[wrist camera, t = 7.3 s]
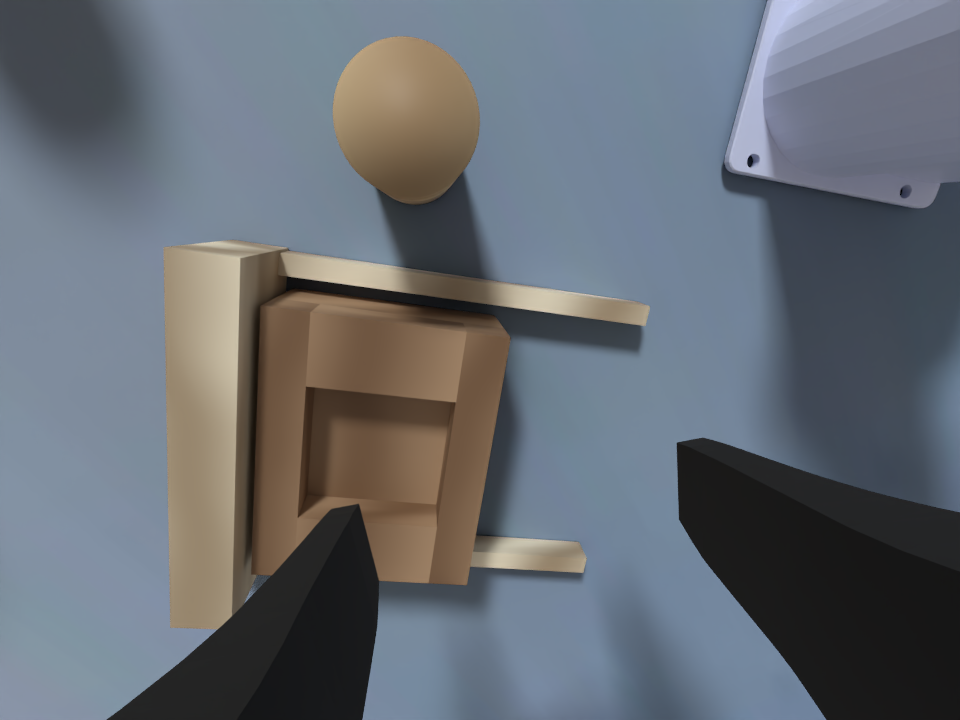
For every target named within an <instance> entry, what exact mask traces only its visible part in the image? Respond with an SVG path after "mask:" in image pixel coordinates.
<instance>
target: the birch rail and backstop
mask: <svg viewBox="0 0 960 720" xmlns="http://www.w3.org/2000/svg"><path fill="white" fill-rule="evenodd" d="M287 276H288V277H296V278H303V279H310V280H317V281H324V282H332V283H339V284H346V285H353V286H360V287H368V288H375V289H382V290H389V291H397V292H404V293H411V294H418V295H425V296H433V297H440V298H447V299H454V300H461V301H469V302H476V303H483V304H490V305H498V306H505V307H512V308H519V309H526V310H534V311H541V312H548V313H555V314H562V315H570V316H577V317H584V318H591V319H598V320H606V321H613V322H620V323H627V324H635V325H642V326H645V325H646V321H647V317H648V313H649V310H650V306H647V305H645V304H642V303H639V302H636V301H629V300H622V299H615V298H608V297H601V296H595V295H588V294H581V293H574V292H567V291H560V290H554V289H547V288H540V287H533V286H526V285H519V284H513V283H506V282H499V281H492V280H485V279H478V278H472V277H465V276H458V275H451V274H444V273H437V272H431V271H424V270H417V269H410V268H403V267H396V266H390V265H383V264H376V263H369V262H362V261H355V260H349V259H342V258H335V257H328V256H321V255H314V254H308V253H301V252H294V251H288V248H285V247H278V246H271V245H265V244H258V243H251V242H244V241H237V240H227V241H217V242H208V243H199V244H189V245H180V246H171V247H164V292H165V348H166V404H167V460H168V516H169V572H170V628H197V629H219V628H220V627H221V626H222V625H223V624H224V623H225V622H226V621H227V620H228V619H229V618H230V617H232V616H233V615H234V614H235V613H236V612H237V611H238V610H239V609H240V608H241V607H242V606H243V604H244V602H245V600H246V598H247V596H248V594H249V591H250V589H251V587H252V585H253V583H254V581H255V579H256V577H257V575H251V562H252V533H253V505H254V477H255V449H256V420H257V392H258V364H259V336H260V307H261V305H263V304H265V303H267V302H269V301H270V300H272V299H274V298H276V297H278V296H280V295H282V294H284V293H286V285H287ZM586 559H587V558H586V556H585V554H584V552H583V550H582V548H581V546H580V543H579V542H571V541H555V540H540V539H525V538H509V537H494V536H479V535H476V537H475V542H474V548H473V553H472V559H471V565H470V567H487V568H505V569H523V570H541V571H559V572H577V573H583V571H584V567H585V563H586Z"/></svg>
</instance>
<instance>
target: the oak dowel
mask: <svg viewBox="0 0 960 720" xmlns="http://www.w3.org/2000/svg"><path fill="white" fill-rule="evenodd" d="M333 121H334V128H335V132H336V137H337V140H338V142H339V145H340V148H341V149H342V151H343V153H344V155H345V157H346V159H347V160H348V162H349V163H350V165H351V166H352V167H353V168H354V169H355V171H356V172H357V173H358V174H359V175H360V176H361V177H363V178H364V179H365V180H366V181H367V182H369V183H370V184H372V185H373V186H375V187H376V188H378V189H379V190H381V191H382V192H384V193H385V194H387V195H388V196H390V197H391V198H393V199H395V200H397V201H399V202H402V203H405V204H411V205H421V204H426V203H429V202H432V201H434V200H436V199H438V198H439V197H441V196H442V195H443V194H444V193H445V192H446V191H447V190H448V189H449V188H450V187H451V185H452V184H453V183H454V182H455V180H456V179H457V178H458V177H459V175H460V174H461V173H462V172H463V171H464V169H465V168H466V166H467V165H468V163H469V162H470V160H471V157H472V155H473V153H474V151H475V148H476V145H477V141H478V136H479V127H480V116H479V107H478V102H477V98H476V95H475V92H474V89H473V87H472V84H471V82H470V80H469V78H468V77H467V75H466V73H465V72H464V70H463V69H462V68H461V66H460V65H459V64H458V63H457V62H456V61H455V60H454V59H453V58H452V57H451V56H450V55H449V54H448V53H447V52H445V51H444V50H442V49H441V48H439V47H438V46H436V45H434V44H432V43H430V42H428V41H425V40H421V39H418V38H413V37H391V38H385V39H382V40H379V41H376V42H374V43H372V44H370V45H368V46H367V47H365V48H364V49H363V50H361V51H360V52H359V53H358V54H357V55H355V56H354V57H353V58H352V60H351V61H350V62H349V63H348V65H347V66H346V68H345V69H344V71H343V73H342V74H341V77H340V79H339V81H338V84H337V87H336V91H335V95H334V102H333Z"/></svg>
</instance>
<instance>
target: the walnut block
mask: <svg viewBox="0 0 960 720" xmlns="http://www.w3.org/2000/svg"><path fill="white" fill-rule="evenodd" d="M510 340H511V338H510V336H509V335H508V333H507V332H506V331H505V329H504V328H503V327H502V325H501V324H500V322H499V321H498V320H497V318H496V317H495V316H494V315H489V314H482V313H474V312H467V311H460V310H452V309H445V308H437V307H430V306H423V305H415V304H408V303H401V302H393V301H386V300H378V299H371V298H364V297H356V296H349V295H341V294H334V293H327V292H319V291H312V290H305V289H297V288H293V289H291V290H289V291H287V292H286V293H284V294H282V295H280V296H278V297H276V298H274V299H272V300H270V301H269V302H267V303H265V304H263V305H261V307H260V336H259V364H258V392H257V420H256V449H255V477H254V505H253V533H252V562H251V575H271V576H272V575H273V574H274V573H275V571H276V570H277V569H278V568H279V567H280V566H281V565H282V564H283V563H284V561H285V560H286V559H287V558H288V557H289V556H290V555H291V554H292V552H293V551H294V550H295V549H296V548H297V547H298V546H299V544H300V543H301V542H302V541H303V540H304V539H305V538H306V536H307V535H308V534H309V533H310V532H311V531H312V529H313V528H314V527H315V526H316V525H317V524H318V523H319V521H320V520H321V519H322V518H323V517H324V516H325V515H326V514H327V513H328V512H329V511H330V509H333V508H338V507H344V506H349V505H354V504H359V505H360V509H361V513H362V517H363V521H364V525H365V528H366V532H367V536H368V540H369V544H370V548H371V551H372V555H373V559H374V563H375V567H376V571H377V574H378V578H379V581H393V582H413V583H433V584H453V585H467V582H468V576H469V570H470V565H471V559H472V553H473V548H474V542H475V537H476V531H477V525H478V520H479V514H480V508H481V503H482V497H483V492H484V486H485V480H486V475H487V469H488V463H489V458H490V452H491V447H492V441H493V435H494V430H495V424H496V418H497V413H498V407H499V402H500V396H501V390H502V385H503V379H504V373H505V368H506V362H507V356H508V351H509V345H510Z"/></svg>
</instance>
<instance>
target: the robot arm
mask: <svg viewBox="0 0 960 720" xmlns="http://www.w3.org/2000/svg"><path fill="white" fill-rule="evenodd" d="M749 156H752V158H753V164H752V166H751V167H748V165H747V159H748V157H749ZM724 163H725V167H726V169H727V170H728V171H729V172H732V173H735V174H740V175H745V176H751V177H756V178H761V179H766V180H771V181H776V182H781V183H786V184H791V185H797V186H802V187H807V188H812V189H817V190H822V191H827V192H832V193H838V194H843V195H848V196H853V197H858V198H863V199H868V200H873V201H879V202H884V203H889V204H894V205H899V206H904V207H909V208H926V207H928V206H929V205H930V204H931V203H932V202H933V201H934V199H935V197H936V195H937V192H938V190H939V187H940V184H941V183H949V182H960V0H767V4H766V7H765V11H764V15H763V19H762V22H761V26H760V30H759V33H758V37H757V41H756V44H755V48H754V52H753V55H752V59H751V63H750V66H749V70H748V74H747V78H746V81H745V85H744V89H743V92H742V96H741V100H740V103H739V107H738V111H737V114H736V118H735V122H734V125H733V129H732V133H731V137H730V140H729V144H728V148H727V151H726V155H725V161H724ZM901 188H902V189H903V191H902V194H901V196H900V190H901ZM677 466H678V500H679V520H680V522H681V524H682V525H683V527H684V529H685V530H686V532H687V534H688V535H689V537H690V539H691V540H692V542H693V544H694V545H695V547H696V548H697V550H698V551H699V553H700V554H701V556H702V558H703V559H704V560H705V562H706V563H707V564H708V565H709V567H710V568H711V569H712V570H713V572H714V573H715V574H716V575H717V577H718V578H719V579H720V580H721V582H722V583H723V584H724V585H725V587H726V588H727V589H728V590H729V591H730V593H731V594H732V595H733V596H734V598H735V599H736V600H737V601H738V602H739V604H740V605H741V606H742V607H743V609H744V610H745V611H746V612H747V613H748V615H749V616H750V617H751V618H752V620H753V621H754V622H755V623H756V624H757V626H758V627H759V628H760V629H761V630H762V632H763V633H764V634H765V635H766V637H767V638H768V639H769V640H770V641H771V643H772V644H773V645H774V646H775V648H776V649H777V650H778V651H779V653H780V654H781V655H782V657H783V658H784V659H785V661H786V662H787V663H788V665H789V666H790V667H791V669H792V670H793V671H794V673H795V674H796V675H797V677H798V678H799V680H800V681H801V683H802V684H803V686H804V687H805V689H806V690H807V692H808V693H809V695H810V696H811V697H812V699H813V700H814V702H815V703H816V705H817V706H818V708H819V709H820V711H821V712H822V714H823V715H824V717H825V718H826V720H960V512H955V511H950V510H945V509H941V508H936V507H931V506H927V505H923V504H919V503H915V502H911V501H906V500H902V499H898V498H894V497H890V496H886V495H882V494H878V493H875V492H871V491H867V490H864V489H860V488H857V487H853V486H850V485H847V484H843V483H840V482H837V481H833V480H830V479H827V478H824V477H821V476H817V475H814V474H811V473H808V472H805V471H802V470H799V469H796V468H793V467H790V466H787V465H785V464H782V463H779V462H776V461H773V460H770V459H767V458H764V457H762V456H759V455H756V454H753V453H750V452H747V451H745V450H742V449H739V448H736V447H733V446H730V445H727V444H724V443H721V442H717V441H714V440H710V439H706V438H699V439H693V440H688V441H683V442H678V443H677ZM378 596H379V578H378V574H377V571H376V567H375V563H374V559H373V555H372V551H371V548H370V544H369V540H368V536H367V532H366V528H365V525H364V521H363V517H362V513H361V509H360V505H359V504H354V505H349V506H344V507H338V508H333V509H330V511H329V512H328V513H327V514H326V515H325V516H324V517H323V518H322V519H321V520H320V521H319V523H318V524H317V525H316V526H315V527H314V528H313V529H312V531H311V532H310V533H309V534H308V535H307V536H306V538H305V539H304V540H303V541H302V542H301V543H300V544H299V546H298V547H297V548H296V549H295V550H294V551H293V552H292V554H291V555H290V556H289V557H288V558H287V559H286V560H285V561H284V563H283V564H282V565H281V566H280V567H279V568H278V569H277V570H276V571H275V573H274V574H273V575H272V576H271V577H270V578H269V579H268V580H267V581H266V582H265V583H264V584H263V585H262V586H261V587H260V588H259V589H258V590H257V591H256V592H255V593H254V594H253V595H252V596H251V597H250V598H249V599H248V600H247V601H246V603H245V604H244V605H243V606H242V607H241V608H240V609H239V610H238V611H237V612H236V613H235V614H234V615H233V616H232V617H230V618H229V619H228V620H227V621H226V622H225V623H224V624H223V625H222V626H221V627H220V628H219V629H218V630H217V631H216V632H214V633H213V634H212V635H211V636H210V637H209V638H208V639H207V640H205V641H204V642H203V643H202V644H201V645H200V646H199V647H197V648H196V649H195V650H194V651H193V652H192V653H191V654H190V655H188V656H187V657H186V658H185V659H184V660H182V661H181V662H180V663H179V664H178V665H176V666H175V667H174V668H173V669H171V670H170V671H169V672H168V673H166V674H165V675H164V676H162V677H161V678H160V679H159V680H157V681H156V682H155V683H154V684H152V685H151V686H150V687H149V688H147V689H146V690H145V691H143V692H142V693H141V694H140V695H138V696H137V697H136V698H135V699H133V700H132V701H131V702H129V703H128V704H127V705H126V706H124V707H123V708H122V709H121V710H119V711H118V712H116V713H115V714H114V715H112V716H111V717H110V718H108V719H107V720H362V718H363V712H364V706H365V699H366V693H367V687H368V681H369V675H370V669H371V663H372V656H373V650H374V644H375V637H376V631H377V620H378Z"/></svg>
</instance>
